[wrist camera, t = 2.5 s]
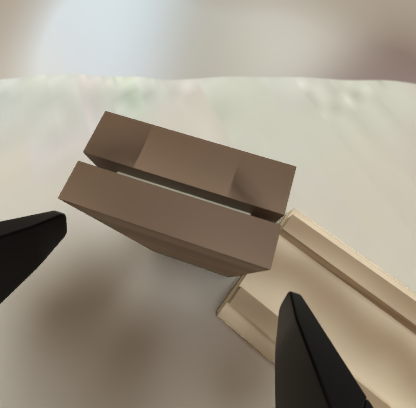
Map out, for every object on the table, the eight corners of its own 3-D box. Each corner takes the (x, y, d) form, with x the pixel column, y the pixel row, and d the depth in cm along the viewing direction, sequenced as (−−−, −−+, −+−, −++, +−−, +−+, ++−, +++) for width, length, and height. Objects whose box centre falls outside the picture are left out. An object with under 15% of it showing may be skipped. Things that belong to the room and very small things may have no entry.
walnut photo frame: (229, 277, 18) (270, 269, 6) (153, 251, 19) (57, 198, 7) (240, 238, 19) (296, 166, 7) (168, 215, 20) (105, 111, 8)
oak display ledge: (416, 482, 15) (475, 539, 11) (216, 312, 17) (218, 319, 14) (471, 347, 17) (535, 363, 13) (285, 215, 19) (301, 202, 16)
